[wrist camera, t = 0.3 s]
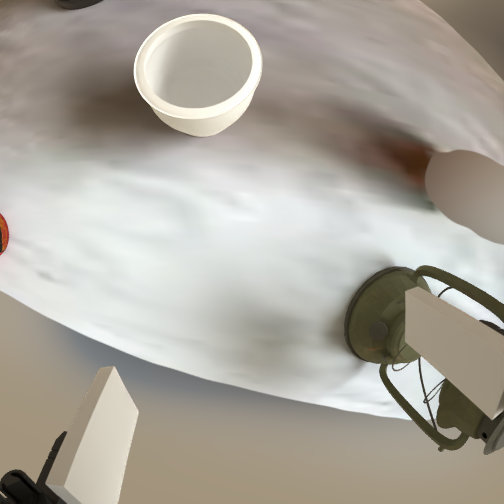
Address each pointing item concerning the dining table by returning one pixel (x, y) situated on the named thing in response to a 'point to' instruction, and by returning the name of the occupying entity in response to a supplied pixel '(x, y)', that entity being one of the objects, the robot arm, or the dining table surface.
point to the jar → (199, 72)
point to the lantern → (398, 351)
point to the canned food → (3, 234)
